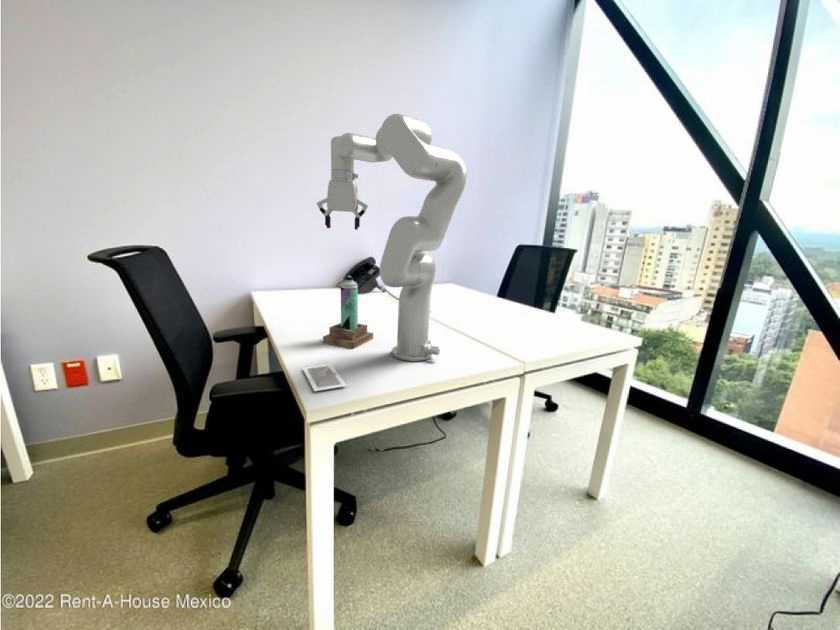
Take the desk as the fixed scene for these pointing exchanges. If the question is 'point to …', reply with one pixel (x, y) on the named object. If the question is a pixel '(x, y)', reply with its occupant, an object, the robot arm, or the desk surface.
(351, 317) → the spray can
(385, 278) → the robot arm
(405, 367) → the desk surface
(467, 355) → the desk surface
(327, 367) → the touchpad
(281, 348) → the desk surface
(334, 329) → the display stand
